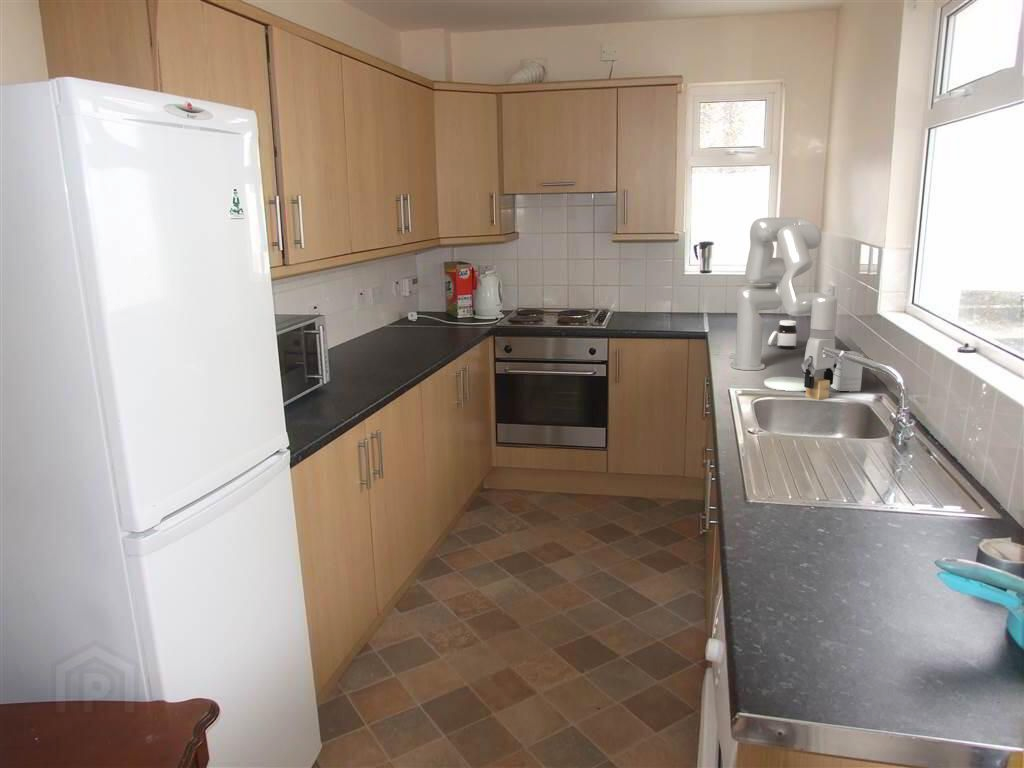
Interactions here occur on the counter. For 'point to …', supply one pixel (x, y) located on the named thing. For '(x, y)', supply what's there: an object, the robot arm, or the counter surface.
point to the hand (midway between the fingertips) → (818, 385)
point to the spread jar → (784, 335)
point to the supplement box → (847, 375)
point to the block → (819, 389)
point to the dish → (785, 383)
